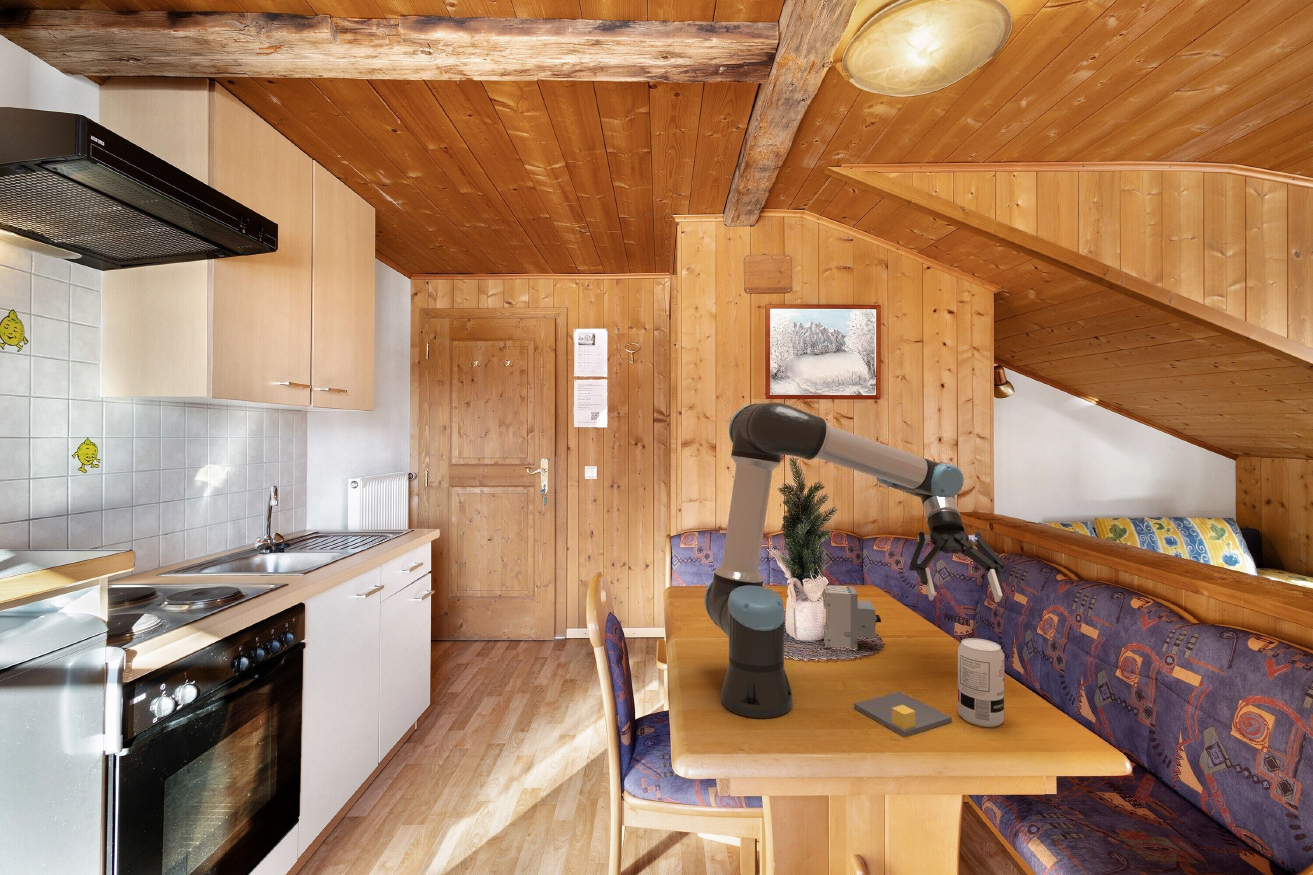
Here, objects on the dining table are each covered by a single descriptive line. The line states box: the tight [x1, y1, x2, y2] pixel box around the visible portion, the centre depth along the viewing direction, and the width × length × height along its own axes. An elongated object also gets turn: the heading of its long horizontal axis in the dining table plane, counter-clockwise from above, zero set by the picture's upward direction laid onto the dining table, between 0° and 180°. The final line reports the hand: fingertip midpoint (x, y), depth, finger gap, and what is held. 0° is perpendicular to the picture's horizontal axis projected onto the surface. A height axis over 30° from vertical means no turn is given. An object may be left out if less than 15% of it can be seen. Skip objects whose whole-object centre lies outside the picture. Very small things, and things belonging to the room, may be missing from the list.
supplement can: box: [957, 637, 1005, 728], centre depth 121 cm, size 8×8×15 cm
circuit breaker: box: [822, 585, 882, 649], centre depth 161 cm, size 8×14×15 cm, turn 78°
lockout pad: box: [853, 691, 953, 738], centre depth 122 cm, size 13×13×4 cm
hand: (965, 598), depth 131 cm, fingers open, 13 cm apart
